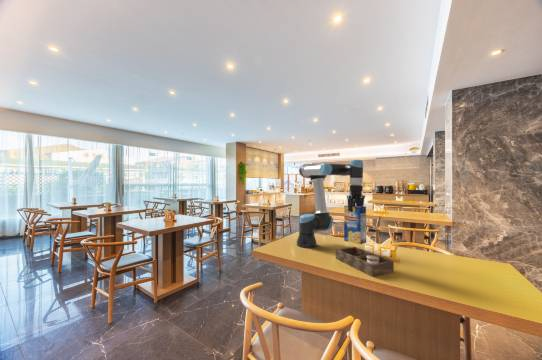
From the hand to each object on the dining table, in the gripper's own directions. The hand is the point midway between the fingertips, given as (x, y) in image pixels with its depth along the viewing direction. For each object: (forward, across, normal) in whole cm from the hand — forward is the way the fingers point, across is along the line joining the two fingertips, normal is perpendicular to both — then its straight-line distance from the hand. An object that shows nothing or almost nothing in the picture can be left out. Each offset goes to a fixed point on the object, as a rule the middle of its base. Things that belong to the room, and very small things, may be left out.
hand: (355, 222), depth 135 cm
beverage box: (+12, 0, 0) cm, 12 cm away
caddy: (+24, 0, -6) cm, 25 cm away
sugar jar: (+24, 0, -13) cm, 27 cm away
